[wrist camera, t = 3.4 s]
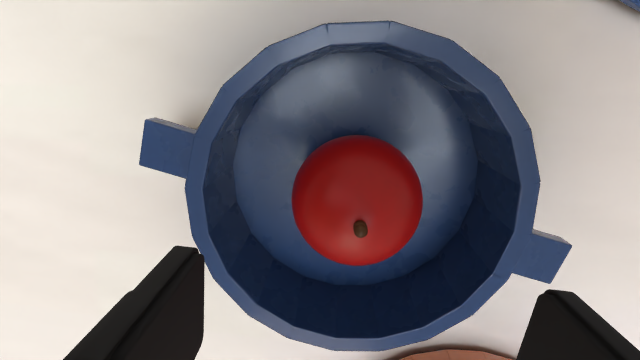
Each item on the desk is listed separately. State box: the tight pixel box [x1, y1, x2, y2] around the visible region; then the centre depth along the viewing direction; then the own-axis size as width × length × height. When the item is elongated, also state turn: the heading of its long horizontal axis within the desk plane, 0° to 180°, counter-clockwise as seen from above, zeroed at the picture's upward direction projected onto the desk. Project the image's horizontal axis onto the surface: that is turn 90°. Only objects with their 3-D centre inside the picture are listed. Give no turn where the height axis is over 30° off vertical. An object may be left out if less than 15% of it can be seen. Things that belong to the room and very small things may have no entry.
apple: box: [291, 135, 423, 266], centre depth 18 cm, size 7×7×8 cm
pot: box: [139, 21, 572, 351], centre depth 19 cm, size 17×22×5 cm
